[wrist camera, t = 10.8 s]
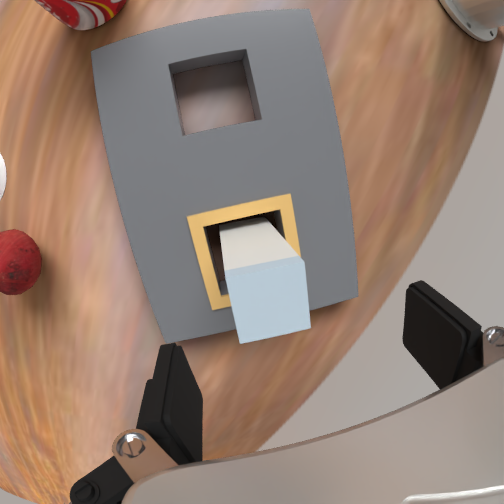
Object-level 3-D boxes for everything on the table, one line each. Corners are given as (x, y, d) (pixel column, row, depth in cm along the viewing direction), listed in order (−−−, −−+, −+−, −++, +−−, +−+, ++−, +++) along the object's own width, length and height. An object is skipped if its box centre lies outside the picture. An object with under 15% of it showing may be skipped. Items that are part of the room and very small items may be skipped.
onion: (57, 229, 24) (11, 255, 17) (53, 283, 26) (14, 321, 18) (13, 216, 23) (-36, 236, 15) (11, 268, 24) (-32, 299, 17)
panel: (299, 21, 21) (310, 7, 18) (345, 283, 30) (359, 297, 26) (102, 60, 20) (89, 50, 17) (169, 326, 28) (165, 345, 25)
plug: (264, 216, 26) (304, 261, 15) (270, 259, 28) (310, 328, 16) (218, 225, 26) (225, 277, 15) (227, 267, 27) (240, 343, 16)
